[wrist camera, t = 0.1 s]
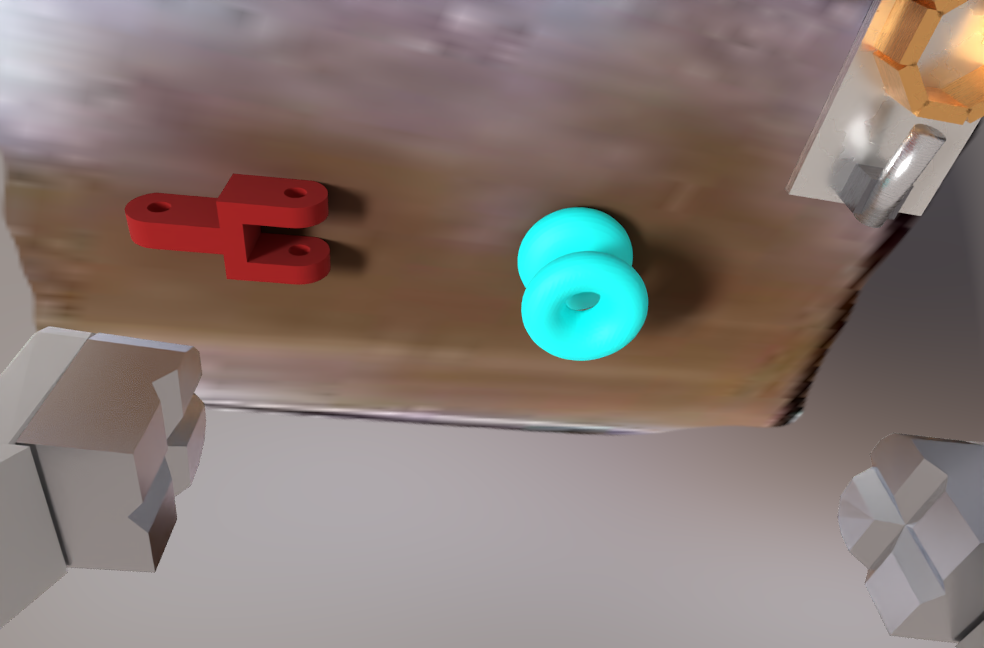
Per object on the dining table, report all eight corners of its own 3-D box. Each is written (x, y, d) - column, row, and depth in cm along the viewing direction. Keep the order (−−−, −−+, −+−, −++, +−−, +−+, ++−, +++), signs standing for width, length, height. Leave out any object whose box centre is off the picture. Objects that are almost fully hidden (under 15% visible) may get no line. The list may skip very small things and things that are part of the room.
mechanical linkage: (332, 181, 59) (321, 210, 55) (334, 254, 63) (324, 286, 59) (133, 163, 58) (107, 191, 54) (149, 239, 62) (126, 270, 58)
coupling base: (982, -231, 43) (1043, -232, 38) (1155, -187, 44) (1235, -184, 40) (783, 190, 60) (809, 225, 55) (914, 211, 61) (950, 247, 56)
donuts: (618, 379, 59) (504, 351, 57) (601, 308, 67) (501, 281, 65) (674, 285, 53) (550, 249, 51) (649, 219, 61) (540, 186, 59)
